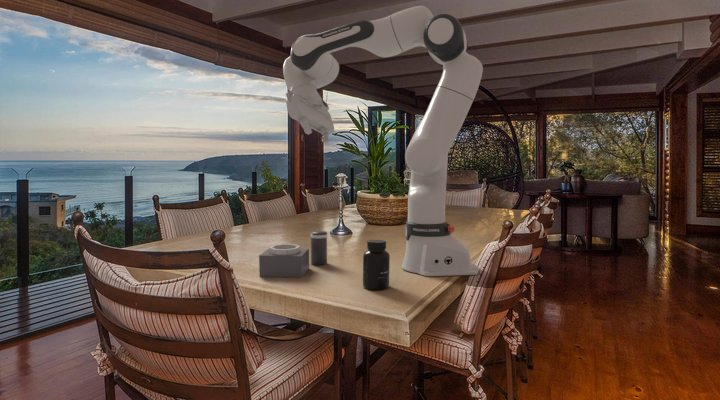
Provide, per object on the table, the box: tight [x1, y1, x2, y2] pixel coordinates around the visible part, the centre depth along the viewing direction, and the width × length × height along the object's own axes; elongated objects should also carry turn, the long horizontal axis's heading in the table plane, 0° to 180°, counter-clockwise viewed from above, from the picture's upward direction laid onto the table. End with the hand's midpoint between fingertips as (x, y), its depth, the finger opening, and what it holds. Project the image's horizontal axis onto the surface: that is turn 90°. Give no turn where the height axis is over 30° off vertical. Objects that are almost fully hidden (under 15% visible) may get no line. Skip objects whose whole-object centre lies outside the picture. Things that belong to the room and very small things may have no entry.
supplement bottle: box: [362, 239, 391, 291], centre depth 109 cm, size 7×7×12 cm
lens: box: [310, 230, 328, 267], centre depth 133 cm, size 5×5×10 cm
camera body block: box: [258, 243, 310, 278], centre depth 123 cm, size 12×10×8 cm
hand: (317, 137), depth 130 cm, fingers open, 8 cm apart
